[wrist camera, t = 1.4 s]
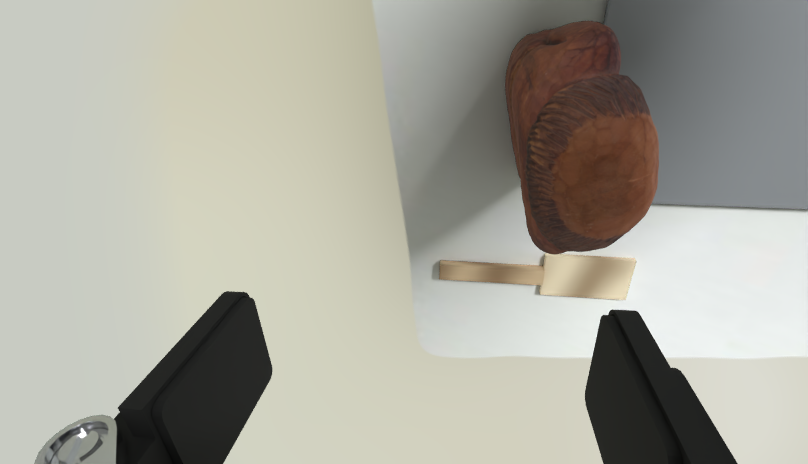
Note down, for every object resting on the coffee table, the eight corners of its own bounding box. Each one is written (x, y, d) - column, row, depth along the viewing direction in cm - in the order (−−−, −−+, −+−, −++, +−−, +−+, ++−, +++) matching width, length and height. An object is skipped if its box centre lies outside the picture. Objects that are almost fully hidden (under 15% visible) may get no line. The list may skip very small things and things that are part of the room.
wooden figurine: (586, 167, 35) (683, 291, 19) (509, 178, 36) (539, 302, 20) (584, 14, 30) (713, 5, 14) (494, 33, 31) (519, 46, 15)
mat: (610, -13, 29) (612, -14, 28) (925, -24, 26) (935, -25, 25) (571, 198, 36) (573, 200, 35) (814, 206, 33) (820, 209, 33)
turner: (439, 285, 42) (439, 290, 41) (440, 248, 40) (440, 253, 39) (623, 296, 40) (626, 302, 39) (634, 257, 38) (638, 263, 37)
